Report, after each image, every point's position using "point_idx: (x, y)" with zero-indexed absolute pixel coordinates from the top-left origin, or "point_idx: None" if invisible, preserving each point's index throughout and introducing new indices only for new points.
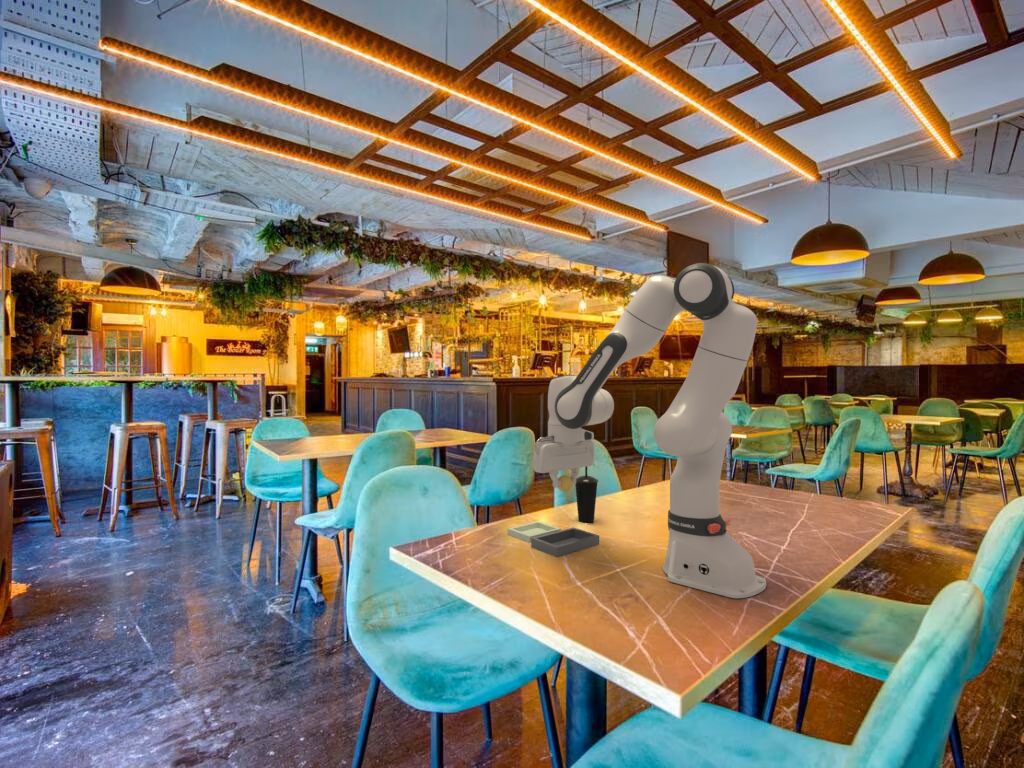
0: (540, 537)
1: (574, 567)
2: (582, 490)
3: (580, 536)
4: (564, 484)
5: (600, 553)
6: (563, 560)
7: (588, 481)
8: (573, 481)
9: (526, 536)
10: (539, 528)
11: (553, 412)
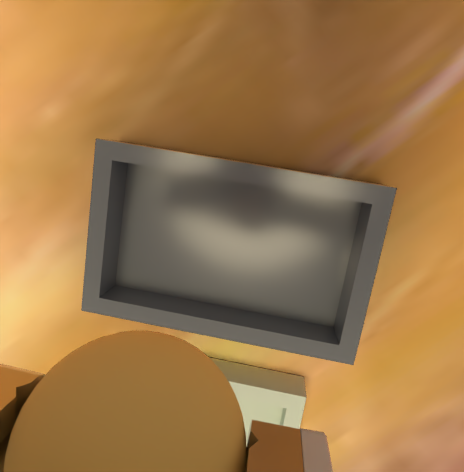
0: (313, 339)
1: (420, 62)
2: None
3: (114, 245)
4: (221, 395)
5: (189, 83)
6: (373, 154)
7: None
8: (3, 386)
9: (302, 414)
10: None
11: None
